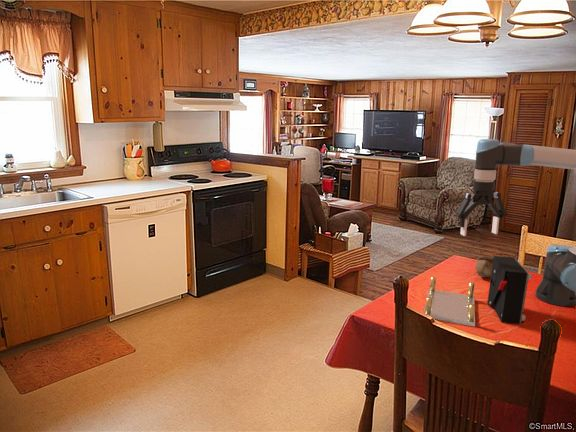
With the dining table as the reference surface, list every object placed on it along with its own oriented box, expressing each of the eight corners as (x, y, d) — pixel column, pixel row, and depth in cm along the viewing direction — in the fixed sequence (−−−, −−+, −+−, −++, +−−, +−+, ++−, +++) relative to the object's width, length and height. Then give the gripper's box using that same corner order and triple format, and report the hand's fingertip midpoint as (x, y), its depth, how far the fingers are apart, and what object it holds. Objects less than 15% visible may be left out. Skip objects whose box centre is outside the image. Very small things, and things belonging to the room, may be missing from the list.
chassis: (473, 299, 186) (475, 282, 184) (474, 326, 162) (477, 307, 160) (428, 292, 192) (430, 275, 190) (422, 317, 168) (424, 298, 167)
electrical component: (525, 325, 164) (534, 273, 160) (496, 321, 166) (503, 271, 162) (512, 305, 181) (519, 258, 177) (485, 302, 183) (491, 255, 178)
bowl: (503, 283, 200) (499, 261, 200) (471, 283, 209) (467, 263, 209) (513, 272, 214) (509, 251, 213) (482, 273, 223) (478, 253, 222)
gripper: (507, 178, 177) (501, 230, 182) (449, 179, 172) (444, 233, 177) (520, 180, 170) (513, 235, 175) (459, 182, 165) (455, 238, 170)
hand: (478, 234), depth 176 cm, fingers open, 13 cm apart
